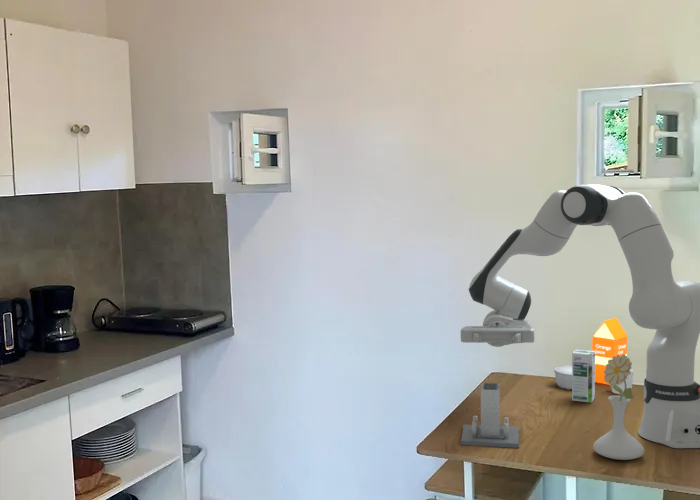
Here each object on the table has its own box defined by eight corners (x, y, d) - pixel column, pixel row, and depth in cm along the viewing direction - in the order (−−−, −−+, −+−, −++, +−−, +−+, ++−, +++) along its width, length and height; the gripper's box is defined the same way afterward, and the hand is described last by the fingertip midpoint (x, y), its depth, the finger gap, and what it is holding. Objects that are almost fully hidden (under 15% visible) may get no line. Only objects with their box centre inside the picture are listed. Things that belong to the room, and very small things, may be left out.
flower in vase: (587, 447, 188) (588, 346, 186) (635, 447, 187) (637, 345, 185) (601, 467, 175) (603, 358, 173) (653, 467, 174) (655, 358, 172)
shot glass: (630, 396, 230) (631, 373, 230) (607, 393, 234) (607, 370, 233) (635, 390, 236) (635, 368, 235) (612, 387, 240) (612, 365, 239)
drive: (499, 429, 198) (499, 383, 197) (499, 437, 192) (499, 389, 191) (481, 428, 199) (481, 382, 198) (480, 436, 193) (480, 388, 192)
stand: (518, 430, 201) (518, 413, 200) (518, 447, 188) (518, 429, 188) (464, 428, 204) (464, 411, 203) (460, 444, 191) (460, 427, 191)
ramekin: (586, 392, 235) (586, 375, 235) (549, 388, 241) (549, 371, 240) (594, 384, 245) (594, 367, 244) (559, 380, 250) (559, 364, 250)
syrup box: (571, 401, 226) (571, 352, 225) (575, 395, 232) (576, 348, 230) (591, 403, 224) (592, 354, 222) (595, 398, 229) (595, 350, 228)
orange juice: (591, 381, 248) (592, 319, 246) (604, 376, 254) (605, 316, 252) (614, 385, 242) (615, 322, 240) (627, 380, 248) (628, 318, 247)
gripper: (460, 320, 224) (457, 328, 211) (533, 319, 220) (534, 328, 207) (461, 341, 225) (458, 351, 211) (533, 341, 221) (535, 351, 207)
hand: (496, 339), depth 209 cm, fingers open, 8 cm apart
